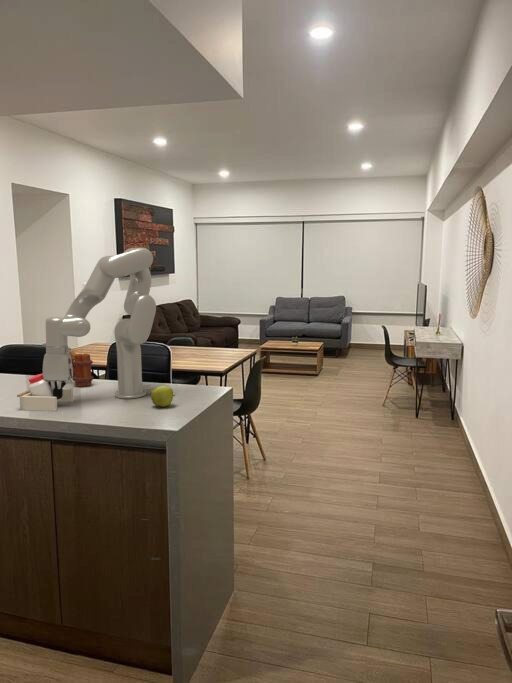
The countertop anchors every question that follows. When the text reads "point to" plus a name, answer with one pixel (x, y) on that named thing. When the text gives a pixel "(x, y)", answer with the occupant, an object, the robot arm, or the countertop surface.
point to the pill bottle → (40, 386)
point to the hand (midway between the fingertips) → (58, 398)
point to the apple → (162, 396)
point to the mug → (81, 369)
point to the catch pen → (43, 401)
